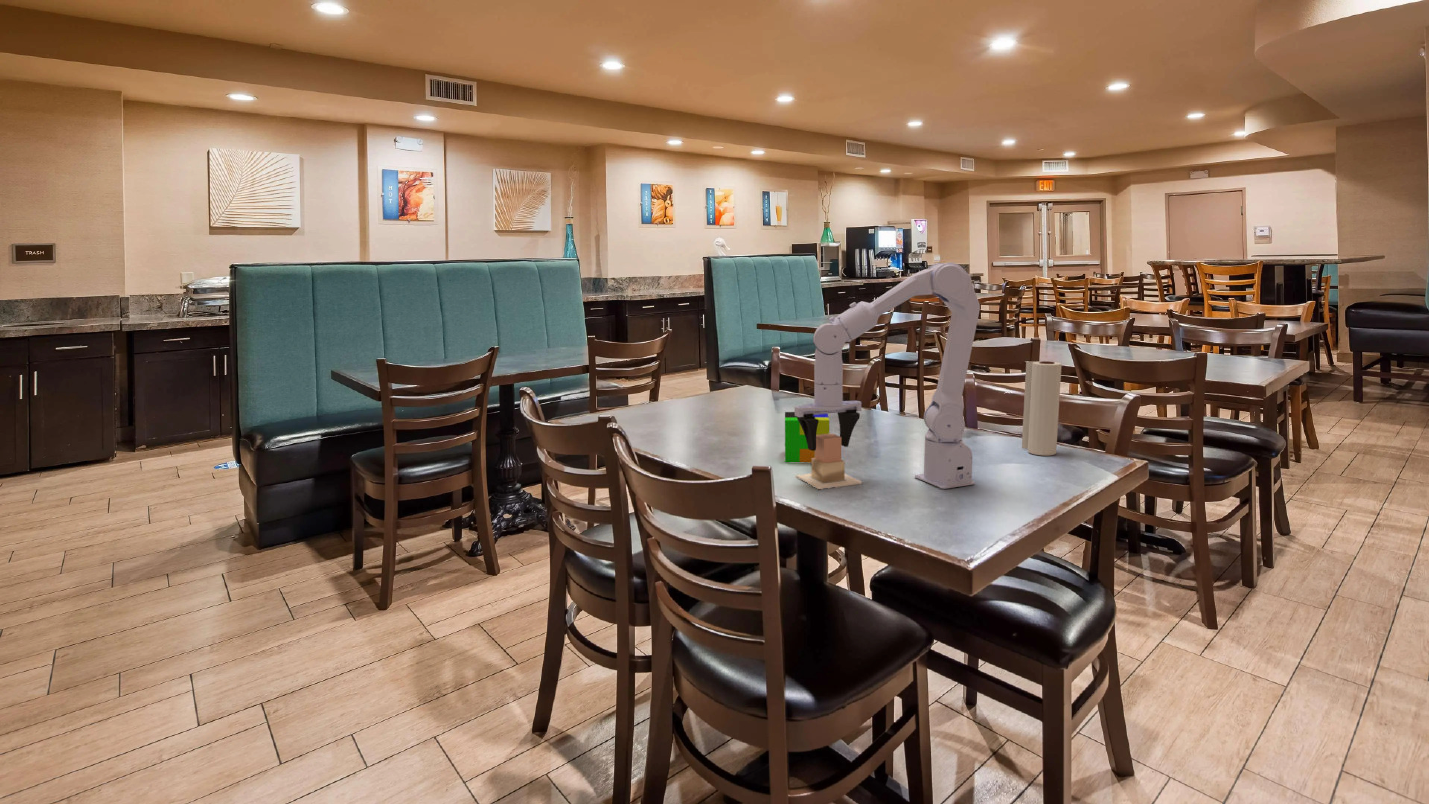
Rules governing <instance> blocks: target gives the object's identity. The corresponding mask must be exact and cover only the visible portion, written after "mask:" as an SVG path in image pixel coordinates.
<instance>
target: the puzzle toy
mask: <svg viewBox="0 0 1429 804" xmlns="http://www.w3.org/2000/svg"><path fill="white" fill-rule="evenodd" d="M814 417H815V419H818V420H819V422H818V426H817V433H816V435H822V434H830V418H829V414H819V415H814ZM784 452H785V453H784V463H785V462H811V458H815V451H812V450H809V449H808V445H807V441H806V437H805V434H804V432H803V429H802V427H801V425H800V423H799V421H798V419H797V416H795V411H784Z"/></svg>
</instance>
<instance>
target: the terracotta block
mask: <svg viewBox="0 0 1429 804" xmlns="http://www.w3.org/2000/svg"><path fill="white" fill-rule="evenodd" d="M815 459H817V460H819V461H821V462H823V463H829V462H837V461H841V460H842V445H841V437H840V435H836V434H834V433H832V432H831V433H829V434H822V435H816V451H815Z"/></svg>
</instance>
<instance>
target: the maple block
mask: <svg viewBox="0 0 1429 804" xmlns="http://www.w3.org/2000/svg"><path fill="white" fill-rule="evenodd" d="M845 463H846V462H845V460H843V459H841V461H837V462H829V463H823V462H821V461H819V460H817V459H815V458H811V463H810V464H811V470H810V471H811V477H813V478H815V479H817V480H819V481H820V482H822V483H826V482H833V481H840V480H844V474H846V473H845V472H846V471H845Z"/></svg>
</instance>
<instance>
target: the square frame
mask: <svg viewBox="0 0 1429 804" xmlns="http://www.w3.org/2000/svg"><path fill="white" fill-rule="evenodd" d="M796 477H797V478H796ZM795 478H796V479H798V478H800V479H801V480H800V479H799V480H800V481H802V480H803V481H805V482H807V483H808V484H807V483H806V484H807V485H809V484H811V485H812V486H813V488H814V487H816V488H817V489H816V488H815V489H816V490H818V489H821V490H824V489H823V488H828V489H830V488H829V487H835V488H841V487H847V486H855V485H861V484H863V482H862V481H861V480H858V479H857V478H855V477H852V476H850V475H849V474H846V473H845V474H844V480H840V481H833V482H826V483H822V482H820V481H819V480H817V479H815V478H813V477H811V473H805V474H804V473H803V474H797V475H795ZM803 481H802V482H803ZM805 482H804V483H805ZM811 485H810V486H811ZM812 486H811V487H812Z"/></svg>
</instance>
